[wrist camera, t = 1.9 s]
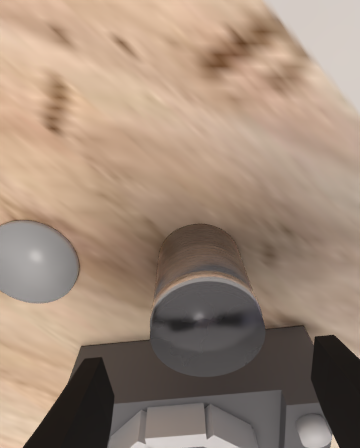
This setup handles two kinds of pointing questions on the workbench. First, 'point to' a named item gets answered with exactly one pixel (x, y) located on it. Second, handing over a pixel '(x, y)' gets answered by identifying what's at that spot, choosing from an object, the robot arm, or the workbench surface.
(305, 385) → the camera body
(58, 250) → the grey domed disc
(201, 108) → the workbench surface
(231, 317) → the lens
